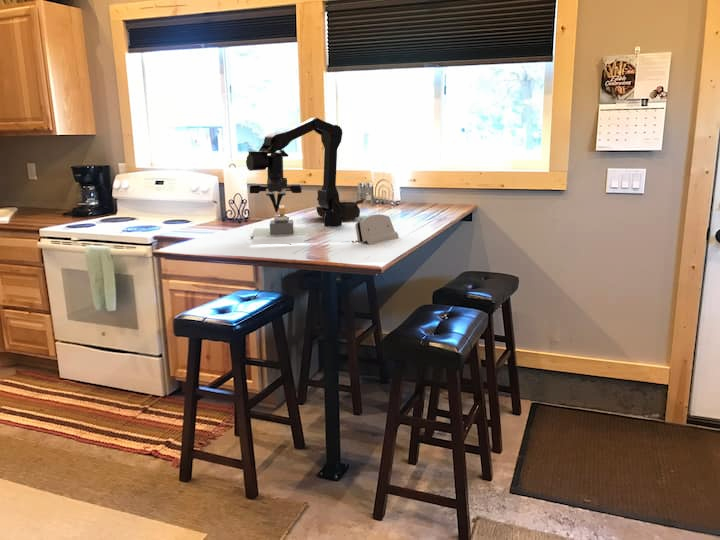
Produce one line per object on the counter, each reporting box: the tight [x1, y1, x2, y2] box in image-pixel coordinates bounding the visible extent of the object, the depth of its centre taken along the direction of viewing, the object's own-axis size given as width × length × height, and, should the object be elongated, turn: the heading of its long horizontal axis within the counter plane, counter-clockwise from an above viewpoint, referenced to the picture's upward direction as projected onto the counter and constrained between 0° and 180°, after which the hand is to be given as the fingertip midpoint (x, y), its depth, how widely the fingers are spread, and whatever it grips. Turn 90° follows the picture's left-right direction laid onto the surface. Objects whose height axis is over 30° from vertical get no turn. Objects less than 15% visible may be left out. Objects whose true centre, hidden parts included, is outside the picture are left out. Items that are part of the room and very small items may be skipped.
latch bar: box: [278, 203, 286, 214], centre depth 225 cm, size 12×3×2 cm, turn 8°
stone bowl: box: [309, 197, 366, 222], centre depth 260 cm, size 25×25×9 cm
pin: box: [273, 213, 290, 223], centre depth 222 cm, size 6×6×6 cm
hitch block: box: [250, 211, 318, 240], centre depth 224 cm, size 24×17×8 cm
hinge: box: [354, 213, 399, 245], centre depth 210 cm, size 17×5×10 cm, turn 137°
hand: (276, 212), depth 221 cm, fingers closed
